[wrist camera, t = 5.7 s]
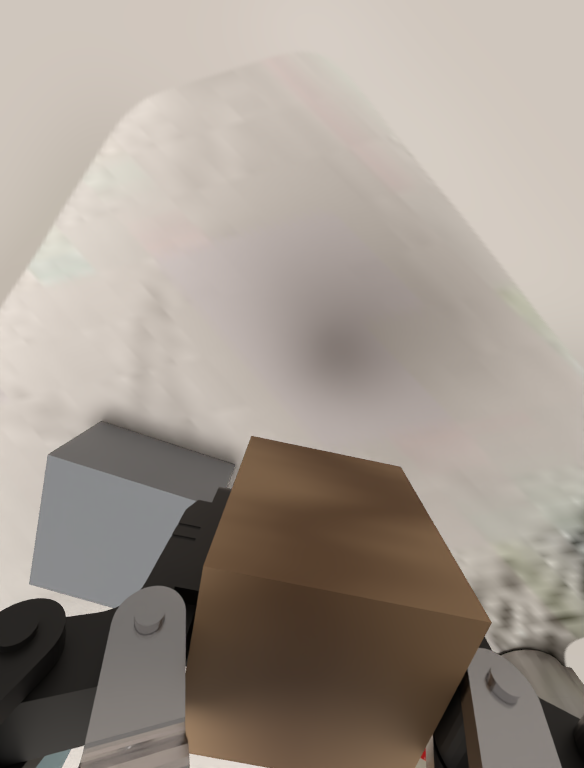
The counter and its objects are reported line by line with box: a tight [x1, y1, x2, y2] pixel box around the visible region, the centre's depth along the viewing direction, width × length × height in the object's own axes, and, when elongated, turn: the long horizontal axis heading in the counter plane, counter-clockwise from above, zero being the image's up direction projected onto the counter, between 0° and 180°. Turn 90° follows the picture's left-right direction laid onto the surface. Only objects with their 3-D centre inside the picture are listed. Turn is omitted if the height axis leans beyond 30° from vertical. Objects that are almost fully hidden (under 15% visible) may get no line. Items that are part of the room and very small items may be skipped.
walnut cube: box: [185, 436, 492, 768], centre depth 8 cm, size 5×5×5 cm
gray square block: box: [29, 421, 235, 608], centre depth 25 cm, size 12×12×6 cm
